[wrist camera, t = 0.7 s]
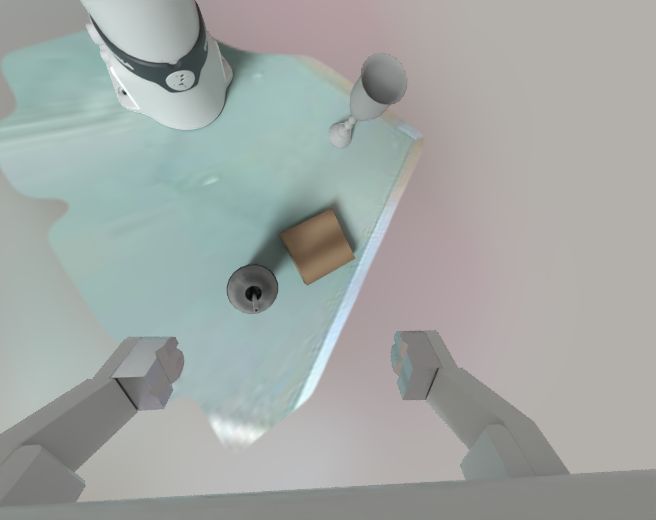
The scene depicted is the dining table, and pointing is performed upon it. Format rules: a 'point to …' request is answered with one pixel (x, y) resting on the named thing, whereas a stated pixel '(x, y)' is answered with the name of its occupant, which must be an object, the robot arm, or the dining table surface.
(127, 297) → the dining table surface
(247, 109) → the dining table surface
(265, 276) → the beverage cup
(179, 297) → the dining table surface
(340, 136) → the chalice
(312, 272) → the walnut plinth
